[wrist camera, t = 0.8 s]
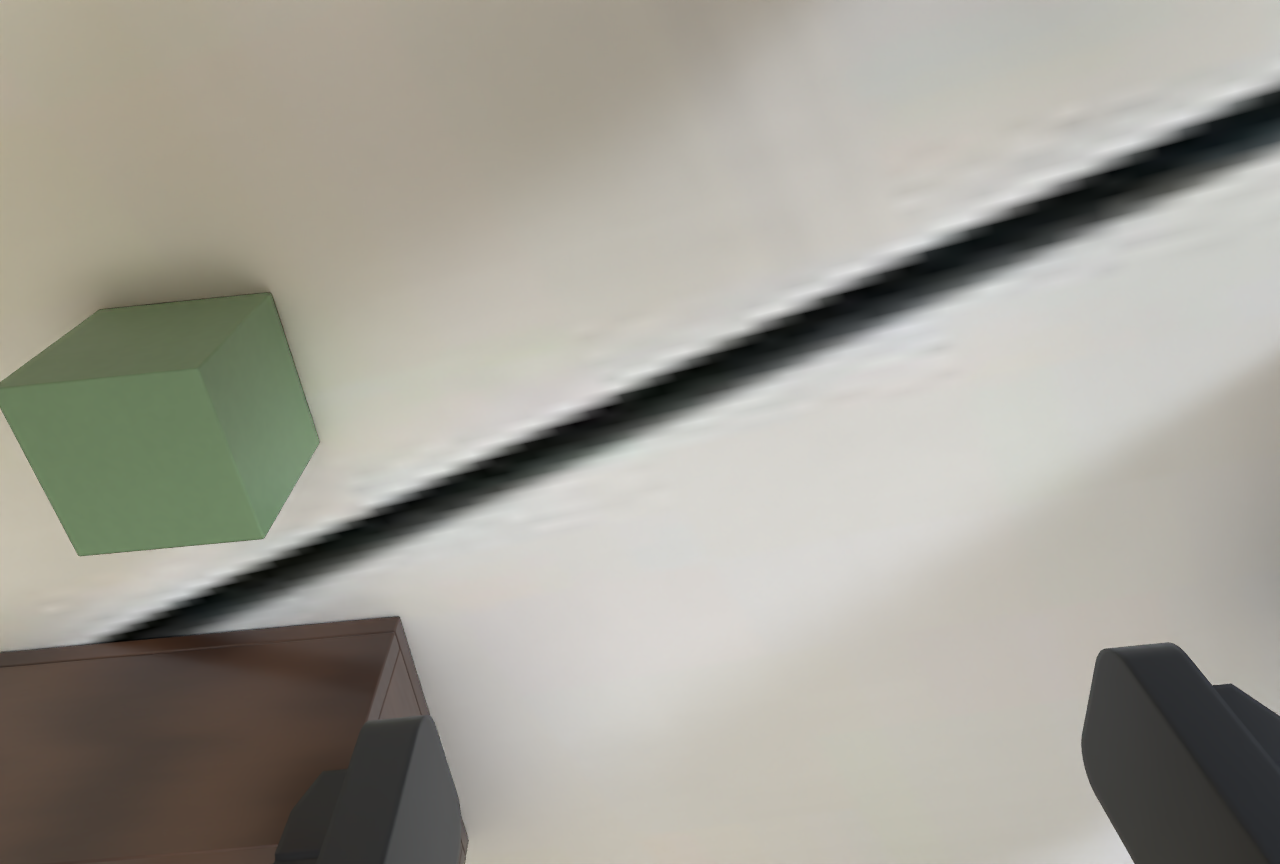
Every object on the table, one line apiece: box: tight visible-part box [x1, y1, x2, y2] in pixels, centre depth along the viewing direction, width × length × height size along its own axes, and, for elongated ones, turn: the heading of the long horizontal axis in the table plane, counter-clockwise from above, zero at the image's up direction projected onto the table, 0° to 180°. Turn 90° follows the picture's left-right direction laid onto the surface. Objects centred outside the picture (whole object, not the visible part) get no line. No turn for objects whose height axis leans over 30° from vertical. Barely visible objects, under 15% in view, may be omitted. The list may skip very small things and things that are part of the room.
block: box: [0, 293, 319, 556], centre depth 24 cm, size 5×5×5 cm
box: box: [0, 617, 469, 864], centre depth 30 cm, size 15×13×9 cm
